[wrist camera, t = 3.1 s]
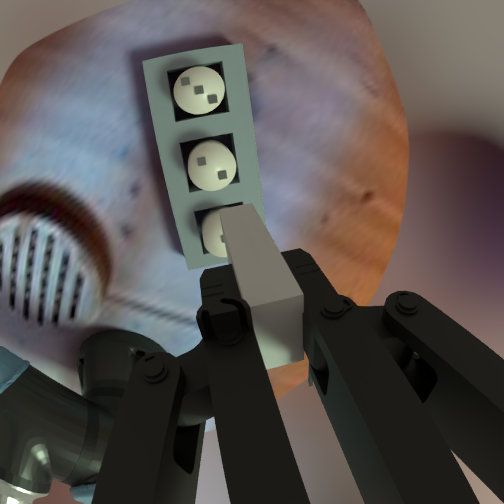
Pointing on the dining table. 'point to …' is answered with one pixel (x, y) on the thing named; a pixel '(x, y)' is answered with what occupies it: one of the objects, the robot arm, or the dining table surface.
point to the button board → (178, 131)
